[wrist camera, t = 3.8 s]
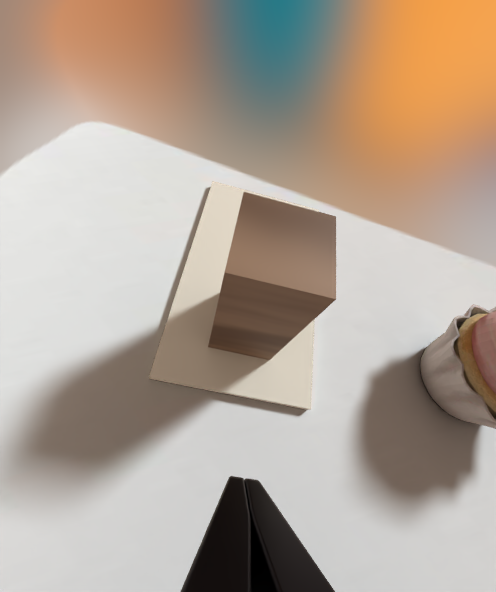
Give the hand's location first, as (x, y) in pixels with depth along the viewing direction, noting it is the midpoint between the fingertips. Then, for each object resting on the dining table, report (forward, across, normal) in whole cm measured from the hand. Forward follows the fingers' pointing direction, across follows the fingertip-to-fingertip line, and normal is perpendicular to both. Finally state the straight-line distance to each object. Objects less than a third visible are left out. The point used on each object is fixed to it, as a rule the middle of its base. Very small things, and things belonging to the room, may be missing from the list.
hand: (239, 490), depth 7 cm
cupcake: (+14, +18, -1) cm, 23 cm away
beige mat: (+17, 0, +3) cm, 17 cm away
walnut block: (+13, 0, 0) cm, 13 cm away
